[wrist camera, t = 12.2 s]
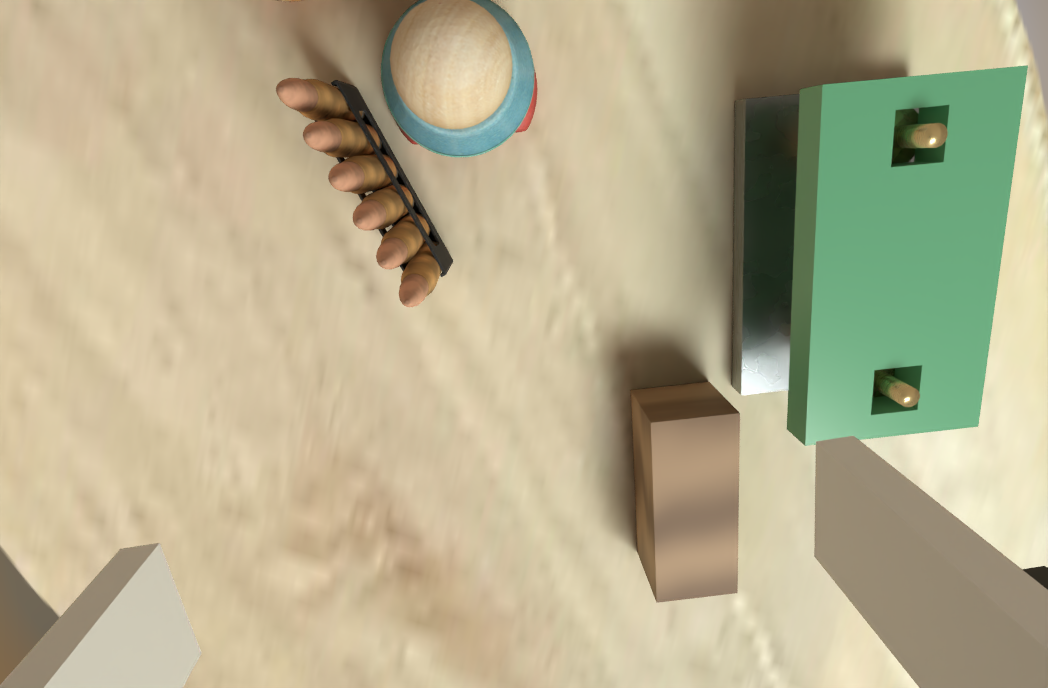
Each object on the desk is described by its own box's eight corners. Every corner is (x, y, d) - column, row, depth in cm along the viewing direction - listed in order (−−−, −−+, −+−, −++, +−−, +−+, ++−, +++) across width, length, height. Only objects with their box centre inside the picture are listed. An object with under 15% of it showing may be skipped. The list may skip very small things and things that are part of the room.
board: (799, 89, 28) (822, 84, 27) (991, 71, 29) (1027, 65, 27) (786, 429, 33) (805, 445, 32) (950, 410, 34) (978, 426, 32)
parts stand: (630, 390, 39) (650, 422, 35) (708, 381, 39) (739, 413, 35) (637, 552, 43) (656, 602, 38) (709, 544, 43) (737, 592, 38)
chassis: (734, 101, 35) (823, 82, 26) (910, 84, 35) (1060, 60, 26) (732, 386, 40) (805, 455, 31) (885, 369, 40) (1003, 433, 31)
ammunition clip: (325, 102, 33) (242, 76, 22) (355, 85, 33) (287, 50, 22) (426, 276, 36) (399, 333, 25) (453, 262, 36) (439, 311, 25)
